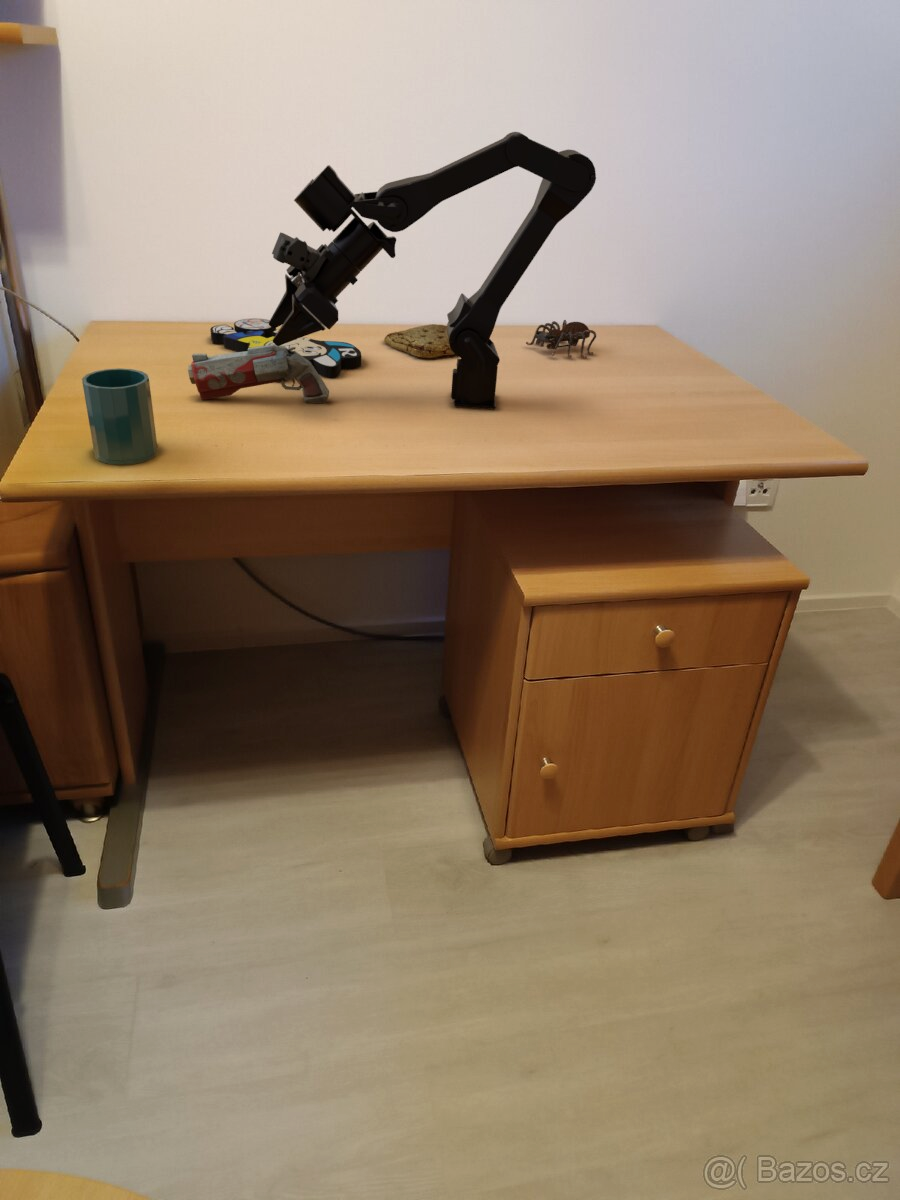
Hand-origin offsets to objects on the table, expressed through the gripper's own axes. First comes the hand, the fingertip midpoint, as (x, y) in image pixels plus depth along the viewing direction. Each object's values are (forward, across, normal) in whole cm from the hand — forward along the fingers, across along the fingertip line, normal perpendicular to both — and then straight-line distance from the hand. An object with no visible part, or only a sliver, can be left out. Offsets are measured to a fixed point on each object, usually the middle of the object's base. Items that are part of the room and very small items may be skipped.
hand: (272, 334), depth 130 cm
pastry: (-14, -27, +28) cm, 42 cm away
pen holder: (+22, +19, -8) cm, 30 cm away
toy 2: (-32, -24, +46) cm, 61 cm away
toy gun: (+9, 0, +6) cm, 10 cm away
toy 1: (+6, -23, +9) cm, 25 cm away
